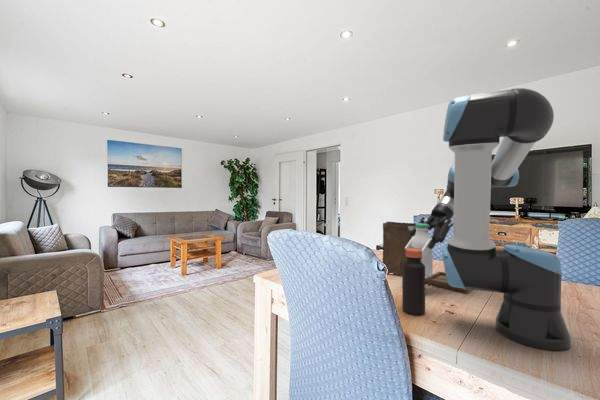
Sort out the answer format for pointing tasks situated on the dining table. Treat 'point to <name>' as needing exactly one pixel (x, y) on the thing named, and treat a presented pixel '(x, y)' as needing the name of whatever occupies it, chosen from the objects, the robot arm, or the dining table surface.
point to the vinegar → (413, 283)
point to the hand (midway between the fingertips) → (414, 252)
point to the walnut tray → (443, 283)
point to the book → (395, 245)
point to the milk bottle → (419, 243)
